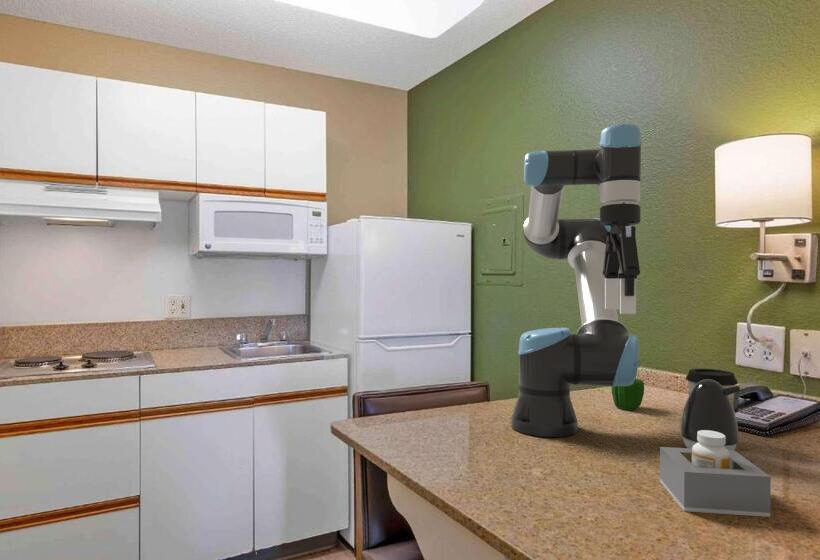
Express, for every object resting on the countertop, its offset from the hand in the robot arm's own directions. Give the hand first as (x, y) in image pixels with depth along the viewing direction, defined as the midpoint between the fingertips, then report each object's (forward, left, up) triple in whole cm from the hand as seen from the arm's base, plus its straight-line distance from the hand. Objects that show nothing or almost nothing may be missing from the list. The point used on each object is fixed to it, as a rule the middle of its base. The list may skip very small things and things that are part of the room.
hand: (619, 311), depth 106 cm
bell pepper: (+11, +40, -29) cm, 51 cm away
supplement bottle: (+10, -18, -28) cm, 35 cm away
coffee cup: (+22, +13, -29) cm, 39 cm away
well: (+10, -19, -29) cm, 36 cm away
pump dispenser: (+18, +3, -29) cm, 34 cm away
